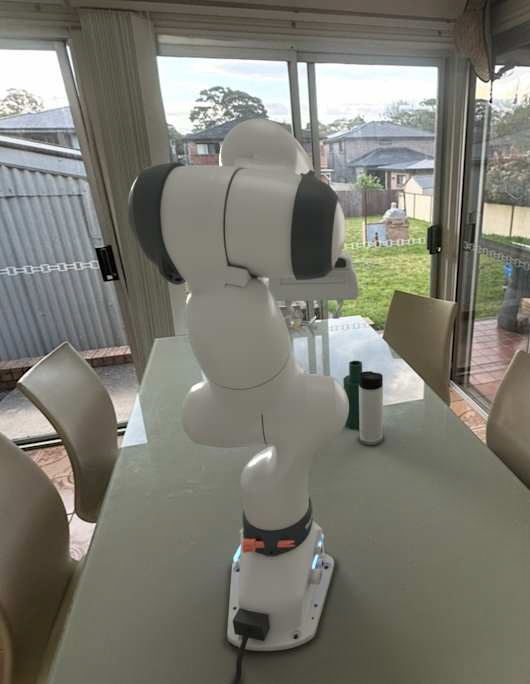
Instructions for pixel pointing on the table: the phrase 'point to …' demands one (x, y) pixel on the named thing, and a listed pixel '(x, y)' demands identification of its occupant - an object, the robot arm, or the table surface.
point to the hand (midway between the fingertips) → (315, 318)
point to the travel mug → (371, 407)
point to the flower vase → (298, 327)
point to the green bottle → (353, 393)
